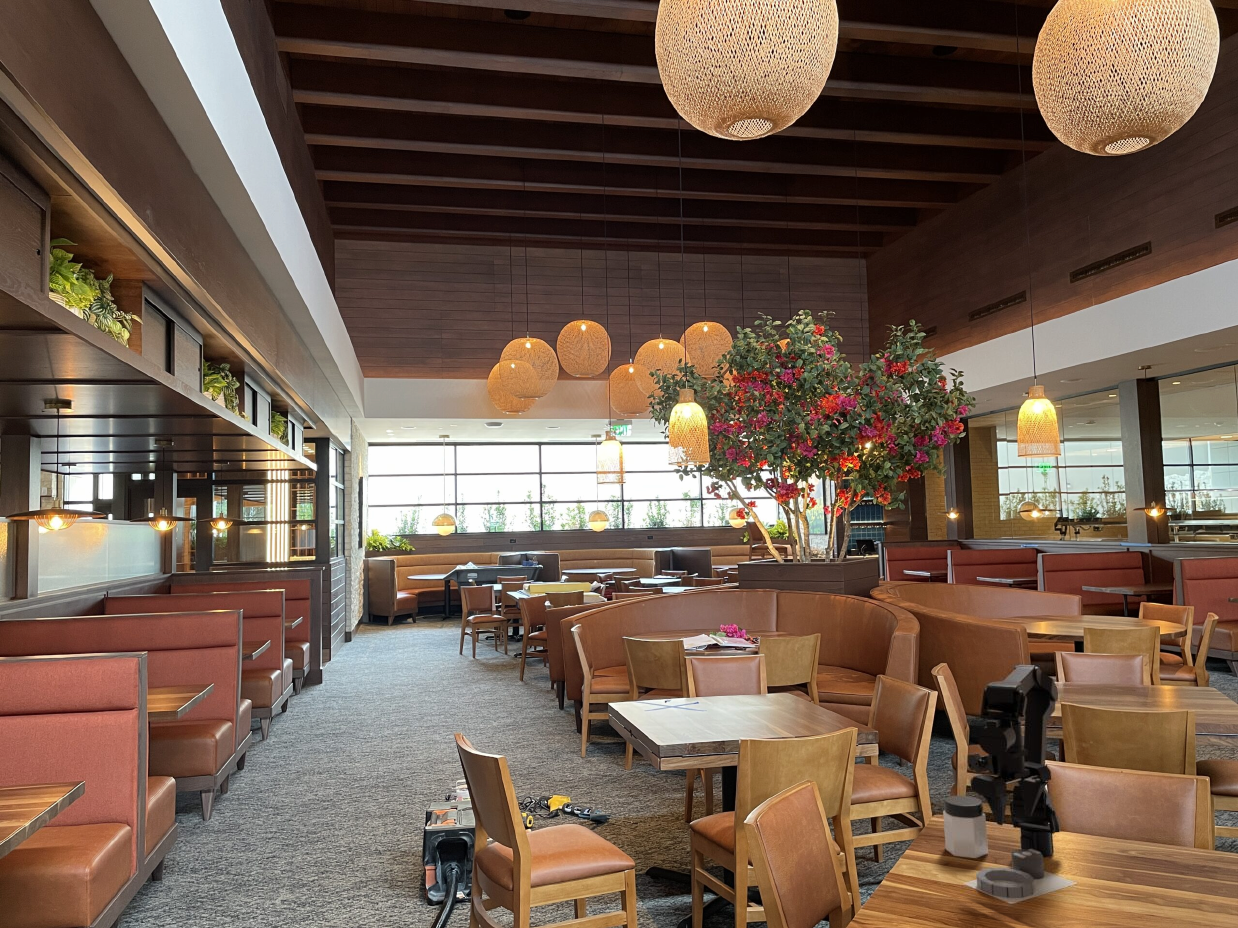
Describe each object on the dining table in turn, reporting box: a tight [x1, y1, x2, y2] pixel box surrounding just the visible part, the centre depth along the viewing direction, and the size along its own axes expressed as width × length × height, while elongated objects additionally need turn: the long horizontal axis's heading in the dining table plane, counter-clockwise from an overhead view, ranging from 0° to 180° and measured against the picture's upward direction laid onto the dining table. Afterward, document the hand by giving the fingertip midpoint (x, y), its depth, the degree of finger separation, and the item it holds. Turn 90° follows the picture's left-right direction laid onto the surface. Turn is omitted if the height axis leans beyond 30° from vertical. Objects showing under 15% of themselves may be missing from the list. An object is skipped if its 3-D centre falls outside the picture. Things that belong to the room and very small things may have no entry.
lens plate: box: [962, 867, 1079, 905], centre depth 182 cm, size 19×12×3 cm, turn 116°
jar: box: [942, 795, 989, 859], centre depth 202 cm, size 9×8×12 cm
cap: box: [1011, 848, 1045, 879], centre depth 187 cm, size 6×6×4 cm
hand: (1014, 819), depth 188 cm, fingers open, 9 cm apart
